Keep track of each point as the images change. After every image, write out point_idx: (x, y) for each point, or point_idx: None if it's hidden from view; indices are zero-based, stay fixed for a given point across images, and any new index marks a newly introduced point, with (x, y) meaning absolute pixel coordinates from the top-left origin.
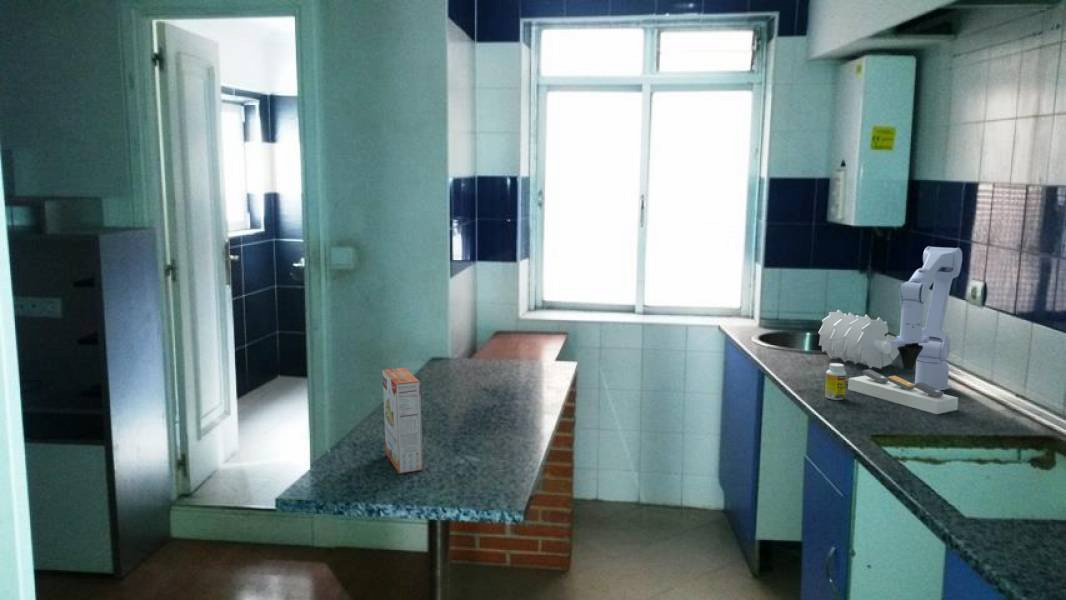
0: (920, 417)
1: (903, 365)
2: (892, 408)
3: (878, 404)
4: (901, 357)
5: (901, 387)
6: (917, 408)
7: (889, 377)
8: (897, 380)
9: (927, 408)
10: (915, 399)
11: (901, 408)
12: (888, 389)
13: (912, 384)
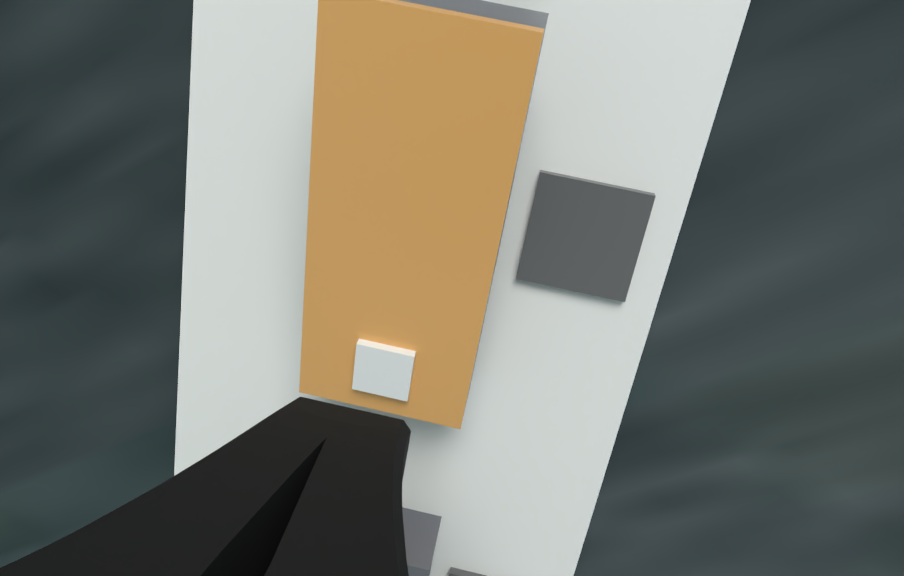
0: (21, 555)
1: (254, 433)
2: (32, 282)
3: (23, 103)
4: (40, 552)
5: None
6: None
7: (320, 21)
8: (329, 197)
9: None
10: None
11: (114, 342)
12: (194, 111)
13: (424, 404)
